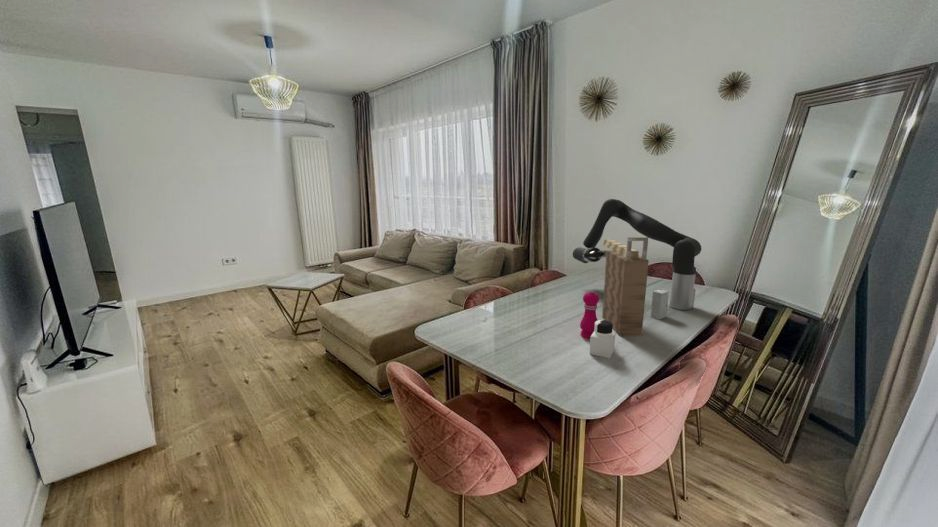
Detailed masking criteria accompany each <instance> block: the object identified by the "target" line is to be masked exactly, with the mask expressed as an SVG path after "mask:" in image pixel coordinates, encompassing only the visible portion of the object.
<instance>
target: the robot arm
mask: <svg viewBox="0 0 938 527" xmlns="http://www.w3.org/2000/svg"><path fill="white" fill-rule="evenodd" d="M600 207H601V208H600V209H599V212H598V215H597V217H596V219H595V221H594V223H593V225H592V228H591V229H590V231H589V233H588V234H587V235H586V237H585V238H584V241H583V242H582V245H583V246H584V247H580V246H578V247H576V248H575V249H574V250H573V252H572V257H573V259H575V260H577V261H578V262H581V263H583V264H588V263H596V262H599V261H600V260H601V259H603V258H606V252H607V250H600V248H598V247H596V246H597V245H598V243H599V242H600V240H601V238H602V237H603V233H604V231H605V228H606V225H607V223H608V222H609V221H610V220H611V219H612V217H613V218H617V219H619V220H622V221H624V222H625V223H627V224H628V225H629V226H630V227H632V229H633V230H635V232H637V233H639V234H640V235H643V237H648V239H651V240H653V241H658V242H660V243H664V244H667V245H669V246H670V247H672V248H673V249H672V263H671V264H672V269H673V270H672V271H673V272H672V279H671V287H670V289H671V290H670V296H669V297H670V299H669V307H670V308H672V309H676V310H679V311H690V310H691V309H694V305H695V297H696V288H695V282H696V274H697V267H696V266H695V257H697V256H699V255H700V254H701V252H702V245H701V243H700V242H699V241H698V240H697V239H695V238H693V237H691V236H688V235H685V234H683V233H681V232H679V231H676V230H674V228H673V229H672V228H671V227H669V226H668V225H666V224H664V223H662V222H661V221H659V220H657V219H655V218H653V217H651V216H649V215H647V214H645V213H644V212H643V213H642V212H640V211H637V210H636V209H633V208H632V207H630V206H628V205H627V204H626V203H624V202H623V201H622V200H619V199H614V198H608V199H606V200H605V201H604V202H603V204H602V205H601V206H600Z"/></svg>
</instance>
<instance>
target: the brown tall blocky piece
mask: <svg viewBox="0 0 938 527" xmlns="http://www.w3.org/2000/svg"><path fill="white" fill-rule="evenodd" d="M626 242H627V243H626V244H627V245H626V246H627V253H626V257H625V256H623V255H621V254H619V253H617V252H615V251H613V250H612V249H609V250H606V251H607V252H606V257H605V267H604V268H605V269H604V270H605V271H604V283H603V284H604V285H603V301H602V316H601V317H602V318H603V319H602V320H607V321H609V322H611V323H612V324H613V329H612V331H614V333H615V334H617V335H618V336H620V337H623V336H624V337H625V336H626V337H627V336H629V337H630V336H633V337H634V336H635V337H636V336H640V337H641V336H643V326H644V316H645V315H644V314H645V306H646V305H645V304H646V293H647V283H648V282H647V281H648V271H649V262H650V261H649V259H648V258H647V256H648V255H647V254H648V244H649V238H648V237H646V236H640V237H638V236H636V237H632V236H631V237H630V236H629V237H627V241H626ZM632 242H642V250H641V255H639V254H638V259H631V248H632V244H633V243H632Z"/></svg>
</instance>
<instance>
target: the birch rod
mask: <svg viewBox="0 0 938 527" xmlns="http://www.w3.org/2000/svg"><path fill="white" fill-rule="evenodd" d="M602 244H603V246H604V247H606V248H608V249H609V250H613V251H615V252H617V253H619V254H621V255H623V256H625V257H626V253H627V245H625V244H623V243H621V242H619V241H617V240H614V239H612V238H603V243H602ZM638 255H639V250H637V249H634V248H632V247H631V259H638Z"/></svg>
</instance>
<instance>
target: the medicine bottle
mask: <svg viewBox="0 0 938 527" xmlns="http://www.w3.org/2000/svg"><path fill="white" fill-rule="evenodd" d="M597 320H598V321H596V322H595V328H594V332H593V334H592V335H591V338H590V339H589V341H590V342H589V355H592V356H595V357H600V358H605V359H611V358H612V355H613V354H614V351H615V343H616V342H615V341H616V332H613V324H612V323H611V322H609V321H607V320H604V319H597Z"/></svg>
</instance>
